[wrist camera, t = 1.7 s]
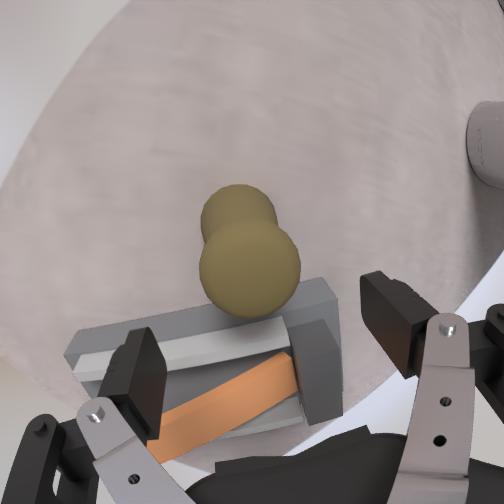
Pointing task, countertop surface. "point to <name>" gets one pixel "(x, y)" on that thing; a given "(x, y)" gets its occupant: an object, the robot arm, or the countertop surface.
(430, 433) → the robot arm
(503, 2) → the lotion bottle
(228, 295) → the olive pawn figure
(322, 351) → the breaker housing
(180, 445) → the lever
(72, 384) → the countertop surface
